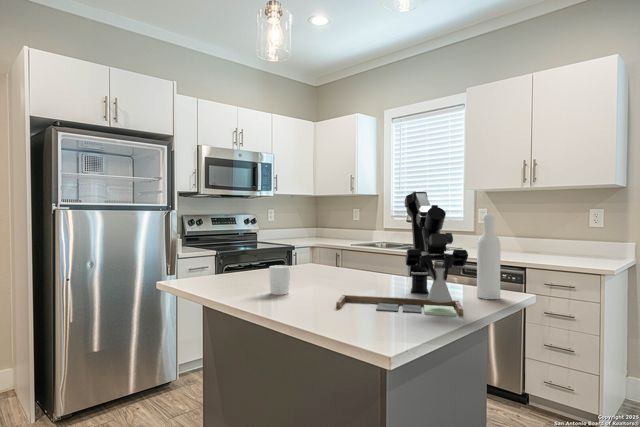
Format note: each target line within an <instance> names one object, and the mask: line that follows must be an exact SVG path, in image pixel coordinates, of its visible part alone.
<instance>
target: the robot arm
mask: <svg viewBox="0 0 640 427" xmlns="http://www.w3.org/2000/svg"><path fill="white" fill-rule="evenodd" d="M427 194H428V192H427V191H426V190H414V191H412V192H411V193H410V194H407V195H406V196H405V198H404V207H405V208H406V213H407V215H408V216H409V217H410V221H411V222H410V223H411V234H412V244H413V245H412V246H413V247H412V248H408V249H407V250H406V255H405V265H406V266H407V275H408V277H411V288H410V293H413V294H414V293H417V294H418V293H419V294H429V292H430V291H429V289H428V277H431V278H432V279H433V281H434V280H436V276H435V270H434V268H435V265H434V262H443V264H442V267H441V268H444V269H445V271H444V277H445V281H447V279H448V273H449V269H452V268H453V267H462V268H463V267H465V266H466V263H467V261H468V258H469V254H468V251H467V250H466V249H453V251H452V253H447V252H446V251H447V245H452V244H453V243H454V237H453V234H452V232H445V233H441V230H442V229H443V226H444V222H445V219H446V215H447V213H446V211H445V210H444V209H442V208H441V207H439V206H438V205H437V204H432V205H431V204H430V201H429V198H428V195H427Z"/></svg>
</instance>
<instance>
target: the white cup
mask: <svg viewBox="0 0 640 427" xmlns="http://www.w3.org/2000/svg"><path fill="white" fill-rule="evenodd" d="M268 267H269V268H268V270H269V271H268V272H269V273H268V275H269V290H270V292H269V293H270V294H271V295H274V296H284V294H285V295H288V294H289V292H290V280H291V266H290V265H285V264H283V265H282V264H279V265H277V264H275V265H270V266H268Z"/></svg>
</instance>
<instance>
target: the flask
mask: <svg viewBox="0 0 640 427" xmlns="http://www.w3.org/2000/svg"><path fill="white" fill-rule="evenodd" d="M433 268H434V271H435V276H436V280H433V281H432V284H431V287H430V290H429V291H428V292H429V293H427V294H428V295H427V297H426V299H427V300H429V301H432V302H438V303H443V302H450V301H452V300H453V298H452V296H451V294H450V290H449V288H448V286H447V282H446V280H445V277H444V271H445V269H444V268H442V267H433Z"/></svg>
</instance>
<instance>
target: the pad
mask: <svg viewBox="0 0 640 427" xmlns="http://www.w3.org/2000/svg"><path fill="white" fill-rule="evenodd" d="M423 312H424V315H432V316H451V317H456V316H457V311H456V308H454V307H453V306H434V305H424V306H423Z"/></svg>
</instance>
